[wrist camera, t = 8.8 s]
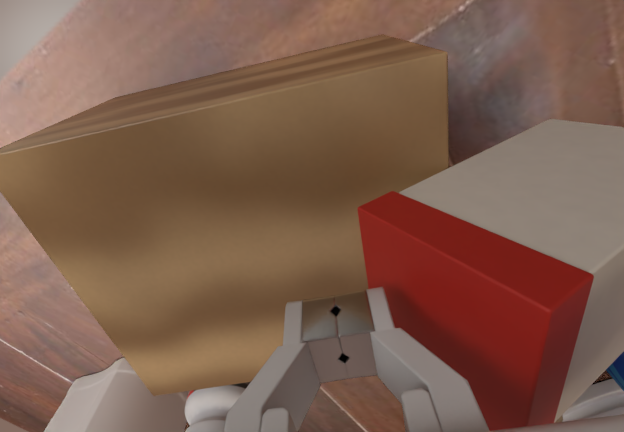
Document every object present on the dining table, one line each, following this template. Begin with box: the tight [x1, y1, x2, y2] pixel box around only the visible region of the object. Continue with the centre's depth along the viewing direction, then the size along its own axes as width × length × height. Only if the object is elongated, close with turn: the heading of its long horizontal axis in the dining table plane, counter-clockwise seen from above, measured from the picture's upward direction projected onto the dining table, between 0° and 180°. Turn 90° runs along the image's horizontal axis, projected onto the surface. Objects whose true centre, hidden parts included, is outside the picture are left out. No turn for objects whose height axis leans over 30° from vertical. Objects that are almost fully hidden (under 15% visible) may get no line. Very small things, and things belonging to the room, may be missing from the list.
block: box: [0, 34, 449, 396], centre depth 19 cm, size 14×16×10 cm
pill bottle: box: [185, 382, 250, 432], centre depth 27 cm, size 6×6×10 cm
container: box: [357, 119, 624, 431], centre depth 12 cm, size 6×10×6 cm, turn 101°
